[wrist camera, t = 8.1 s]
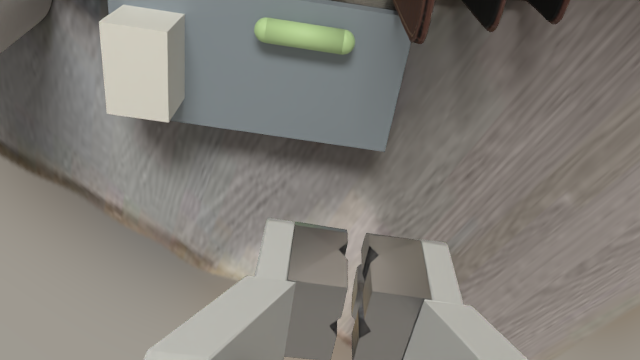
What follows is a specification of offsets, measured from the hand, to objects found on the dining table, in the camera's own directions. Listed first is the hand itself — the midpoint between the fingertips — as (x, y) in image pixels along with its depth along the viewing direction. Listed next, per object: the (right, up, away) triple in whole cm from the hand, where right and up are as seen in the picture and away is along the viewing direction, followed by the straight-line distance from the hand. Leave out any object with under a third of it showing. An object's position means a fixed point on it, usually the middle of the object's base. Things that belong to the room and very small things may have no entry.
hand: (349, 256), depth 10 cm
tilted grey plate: (-5, +10, +27) cm, 29 cm away
